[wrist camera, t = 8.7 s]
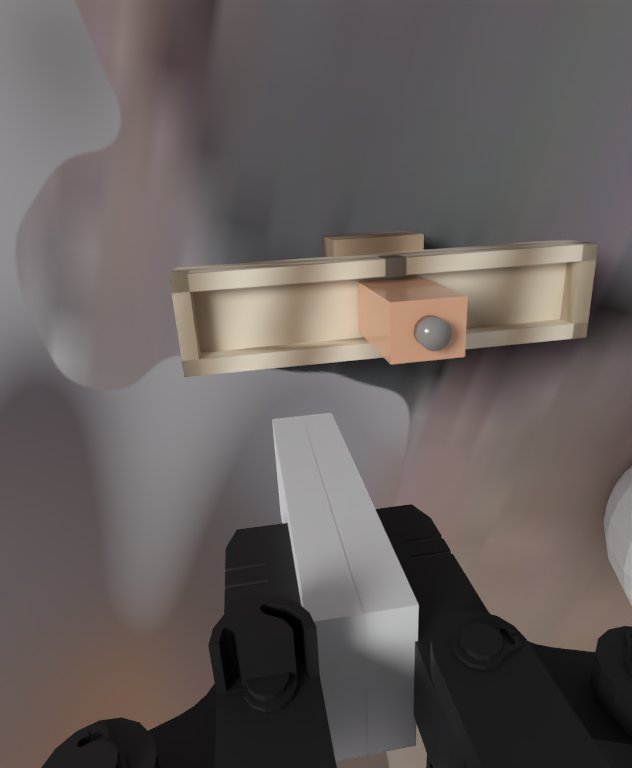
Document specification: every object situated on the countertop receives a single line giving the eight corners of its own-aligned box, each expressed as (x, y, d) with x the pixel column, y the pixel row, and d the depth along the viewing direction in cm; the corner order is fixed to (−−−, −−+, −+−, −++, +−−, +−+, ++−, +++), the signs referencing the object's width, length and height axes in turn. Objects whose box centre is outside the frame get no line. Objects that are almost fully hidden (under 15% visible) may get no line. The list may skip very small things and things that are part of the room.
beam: (195, 357, 38) (186, 393, 31) (179, 245, 35) (166, 257, 28) (524, 326, 41) (585, 352, 34) (533, 222, 38) (601, 226, 31)
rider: (359, 332, 33) (396, 370, 25) (357, 281, 32) (396, 306, 24) (419, 326, 33) (473, 362, 26) (420, 276, 32) (476, 299, 25)
